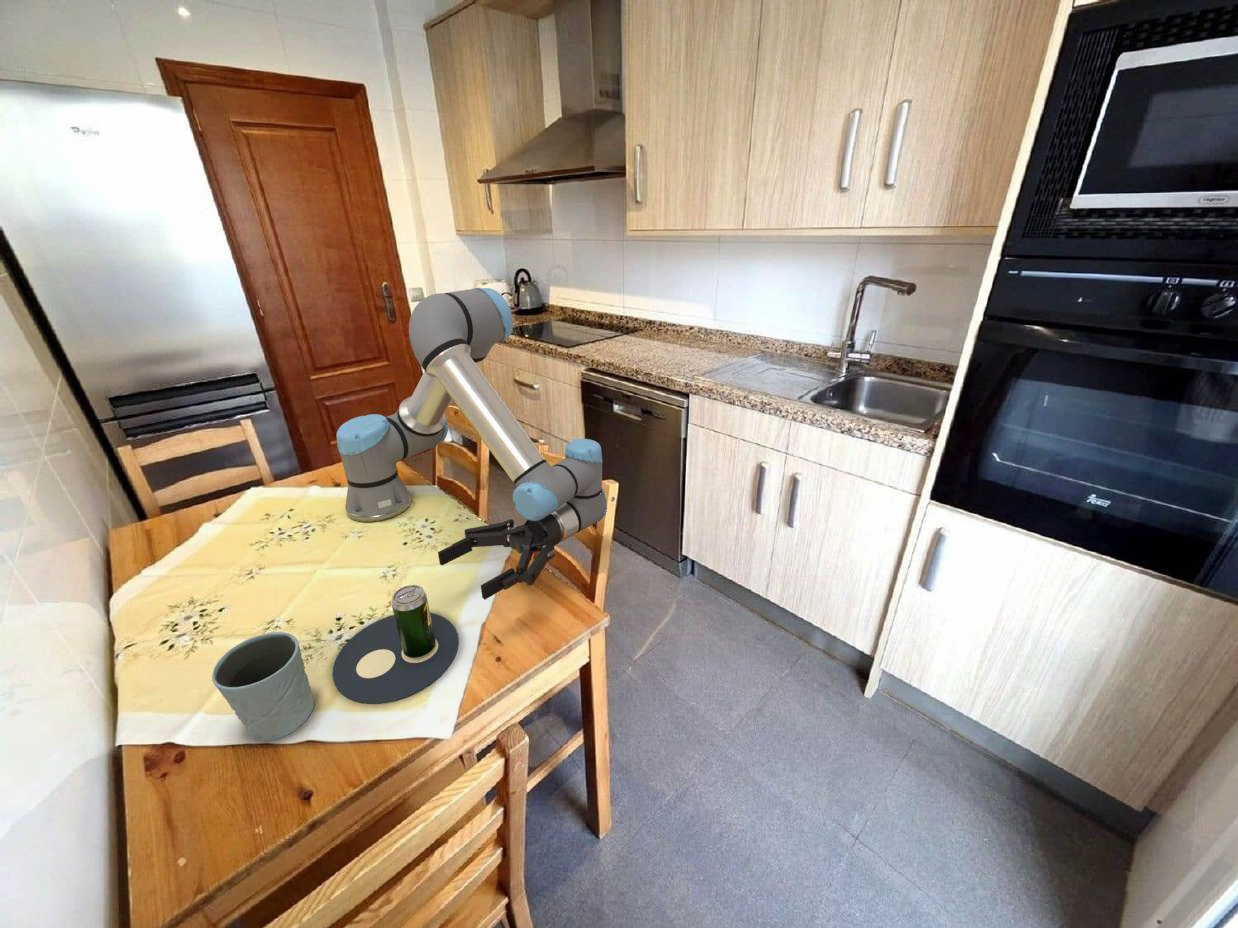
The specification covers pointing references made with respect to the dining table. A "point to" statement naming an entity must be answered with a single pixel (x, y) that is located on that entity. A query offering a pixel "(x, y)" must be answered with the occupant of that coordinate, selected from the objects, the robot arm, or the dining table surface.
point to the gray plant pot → (266, 685)
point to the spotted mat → (391, 662)
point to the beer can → (413, 621)
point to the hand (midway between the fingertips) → (460, 575)
